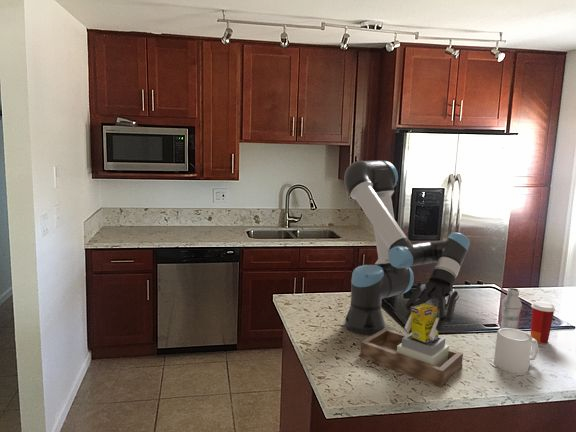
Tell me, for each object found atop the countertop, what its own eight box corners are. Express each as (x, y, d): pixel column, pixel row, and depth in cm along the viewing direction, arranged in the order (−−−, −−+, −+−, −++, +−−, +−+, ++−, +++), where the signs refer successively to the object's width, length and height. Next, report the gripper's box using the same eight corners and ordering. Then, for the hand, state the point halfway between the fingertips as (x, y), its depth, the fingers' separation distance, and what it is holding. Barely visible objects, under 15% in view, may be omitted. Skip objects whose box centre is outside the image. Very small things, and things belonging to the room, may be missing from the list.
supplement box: (425, 345, 143) (423, 311, 142) (411, 339, 149) (410, 306, 148) (439, 340, 146) (437, 306, 145) (425, 335, 152) (423, 302, 150)
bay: (359, 356, 155) (360, 342, 154) (384, 340, 167) (385, 327, 167) (440, 387, 137) (441, 371, 136) (462, 367, 149) (463, 352, 149)
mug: (522, 355, 159) (525, 326, 157) (544, 370, 149) (548, 339, 147) (487, 359, 155) (490, 329, 154) (507, 374, 146) (511, 342, 144)
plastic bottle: (520, 347, 165) (526, 293, 162) (499, 345, 166) (505, 291, 163) (515, 339, 171) (521, 287, 168) (495, 337, 173) (501, 285, 169)
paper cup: (550, 338, 173) (554, 302, 171) (551, 346, 166) (556, 309, 164) (526, 334, 176) (530, 299, 174) (527, 342, 169) (531, 305, 167)
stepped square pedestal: (395, 362, 149) (397, 338, 147) (413, 350, 158) (414, 327, 156) (431, 376, 141) (433, 350, 140) (447, 362, 150) (449, 338, 148)
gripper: (477, 287, 150) (453, 350, 140) (418, 273, 163) (392, 330, 154) (473, 274, 145) (447, 338, 136) (413, 261, 158) (385, 319, 149)
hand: (418, 334), depth 145 cm, fingers open, 7 cm apart
